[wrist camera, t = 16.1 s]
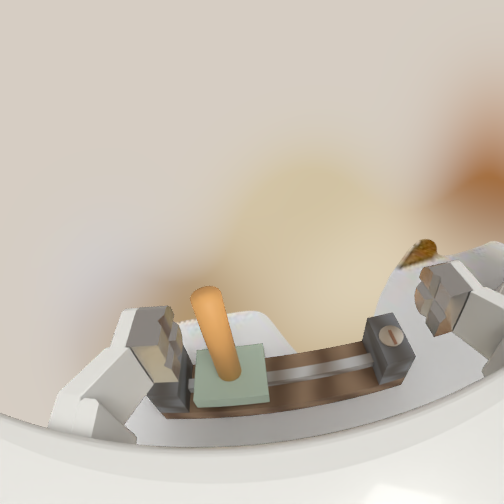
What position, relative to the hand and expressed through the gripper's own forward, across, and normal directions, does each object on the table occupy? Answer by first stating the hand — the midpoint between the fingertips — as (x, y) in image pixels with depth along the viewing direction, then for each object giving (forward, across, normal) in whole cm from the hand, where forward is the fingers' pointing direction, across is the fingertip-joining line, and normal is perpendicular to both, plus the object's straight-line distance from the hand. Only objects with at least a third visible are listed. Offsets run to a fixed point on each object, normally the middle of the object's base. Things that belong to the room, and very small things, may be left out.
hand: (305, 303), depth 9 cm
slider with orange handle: (+14, +6, +26) cm, 31 cm away
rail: (+14, 0, +30) cm, 33 cm away
